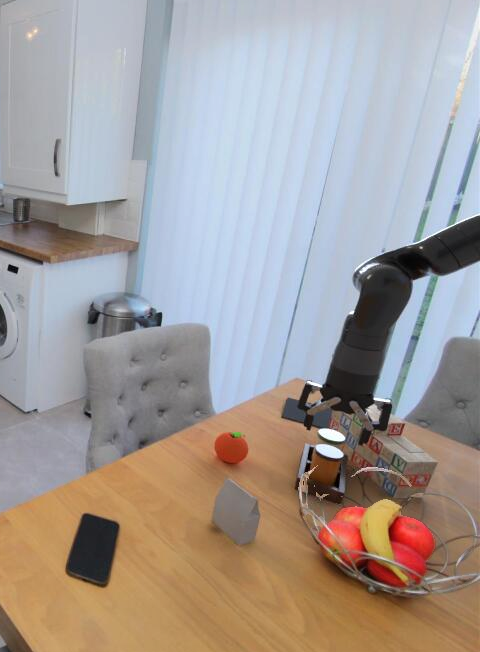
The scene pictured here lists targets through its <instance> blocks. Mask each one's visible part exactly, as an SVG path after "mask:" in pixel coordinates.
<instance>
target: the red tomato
mask: <svg viewBox="0 0 480 652" xmlns="http://www.w3.org/2000/svg"><path fill="white" fill-rule="evenodd" d="M245 437H246V436H245V434H244V433H242V432H239V431H233V432H231V431H228V432H223V433H221V434H220V435H218V436H217V437H216V439H215V440H214V443H213V447H214V451H215V453H216V455H217V457H219V459H221V460H222V461H224V462H226V463H230V464H237V463H241V462H242V461H244V460H245V459H246V458H247V456H248V454H249V445H248V444H249V443H248V442H247V441H246V440H245Z"/></svg>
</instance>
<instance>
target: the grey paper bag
mask: <svg viewBox="0 0 480 652" xmlns="http://www.w3.org/2000/svg"><path fill="white" fill-rule="evenodd" d="M260 520H261V512H260V508H259V500H258V499H257V498H256V497H254V496H253V495H252V494H251V493H249V492H248V491H247V490H245V488H243V487H242V486H240V485H239V484H237V483H236V482H235V481H234V480H233V479H231V478H230V477H226V478H225V480H224V483H222V485H221V487H220V489H219V491H218V493H217V494H216V495H215V500H214V505H213V509H212V515H211V519H210V521H211V522H212V523H213V524H215V525H216V527H217V528H218V529H220V530H221V531H222V533H224V534H225V535H227V537H229V538H230V539H231V540H232V541H233V542H234V544H237V546H239V547H241V546H243V545H246V544H248V543H252V542H254V541H255V540H256V536H257V532H258V529H259V524H260Z"/></svg>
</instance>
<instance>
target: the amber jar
mask: <svg viewBox="0 0 480 652" xmlns="http://www.w3.org/2000/svg"><path fill="white" fill-rule="evenodd" d="M314 446H315V445H314ZM343 456H344V454H343V452H342V451H341V450H339V449H338V448H336V447H333V446H330V445H326V444H319V445H316V446H315V450H314V455H313V459H312V462H311V466H310V469H309V471H310V470H312V469H313V468H314V467H316V466H317V465H318V466H317V467H316V468H315V469H314V471H313V472H312V473H311V474H310V476H309V479H311V480H314V481H317V482H320V483H323V484H326V485H329V486H332V487H333V486H334V483H335V479H336V476H337V473H338V470H339V467H340V464H341V460H342V459H343Z"/></svg>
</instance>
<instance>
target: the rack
mask: <svg viewBox="0 0 480 652" xmlns="http://www.w3.org/2000/svg"><path fill="white" fill-rule="evenodd" d="M314 446H315V444H314V445H313V444H311V443H307V442H305V443H304V445H303V449H302V452H301V456H300V461H299V466H298V469H297V474H296V479H295V483H294V487H293V490H295V491H298V487H299V482H300V479H301V476H302V474H304V473H305V472H308V471H309V469H310V466H311V462H312V461H310V460H311V457H312V453H313V450H314ZM348 461H349V459H348V455H345V454H344V456H343V459H342V460H341V464H340V467H339V470H338V473H337V476H336V479H335V483H334V486H333V487H332V486H329V485H326V484H323V483H320V482H317V481H314V480H311V479H308V478H307V485H308V494H307V495H309V496H312V497H315V498H317V497H316V492H317V493H318V494H319V495H320V496H322V495H323V494H329V495H327V496H325V497H323V499H322V500H324V501H326V502H329V503H333V504H336V503H337V504H336V505H338V504H341V505H342V504H343V503H342V502H343V500H344V497H345V494H346V481H347V469H348ZM346 464H347V465H346ZM303 485H304V481H303ZM314 485H315V487H314ZM298 492H299V491H298ZM341 496H343V497H341Z"/></svg>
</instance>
